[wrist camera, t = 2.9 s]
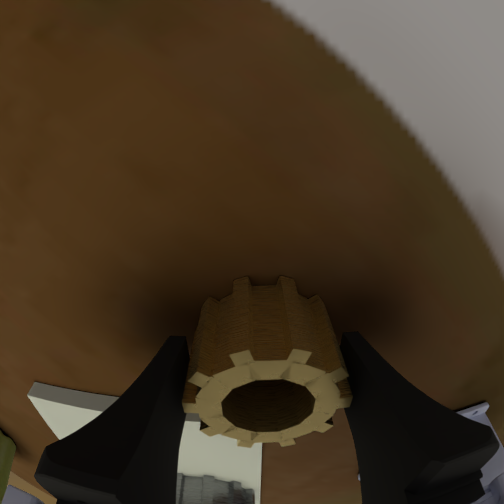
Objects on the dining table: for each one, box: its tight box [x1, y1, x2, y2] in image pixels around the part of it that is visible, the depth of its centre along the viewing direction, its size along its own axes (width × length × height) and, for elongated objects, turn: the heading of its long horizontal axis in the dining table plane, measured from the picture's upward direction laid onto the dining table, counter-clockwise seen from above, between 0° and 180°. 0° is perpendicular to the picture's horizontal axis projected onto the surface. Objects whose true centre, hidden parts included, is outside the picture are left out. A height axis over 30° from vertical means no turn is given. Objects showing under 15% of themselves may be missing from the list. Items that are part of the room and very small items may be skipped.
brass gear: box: [182, 275, 353, 448], centre depth 11 cm, size 6×6×4 cm
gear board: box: [28, 382, 262, 504], centre depth 17 cm, size 14×18×5 cm
